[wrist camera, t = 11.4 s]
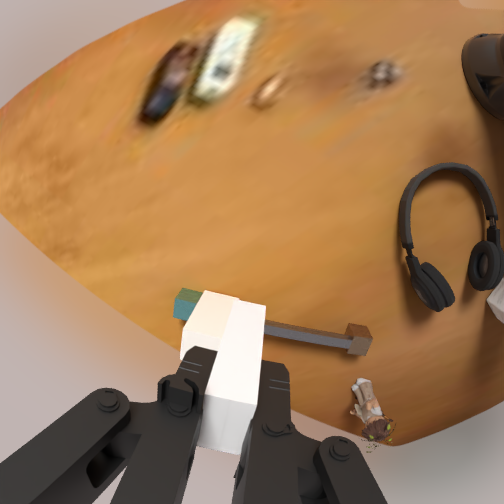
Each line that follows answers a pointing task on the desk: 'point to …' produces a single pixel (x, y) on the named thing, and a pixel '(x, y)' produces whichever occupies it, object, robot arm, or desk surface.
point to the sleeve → (207, 322)
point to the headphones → (482, 256)
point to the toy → (370, 412)
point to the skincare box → (497, 301)
